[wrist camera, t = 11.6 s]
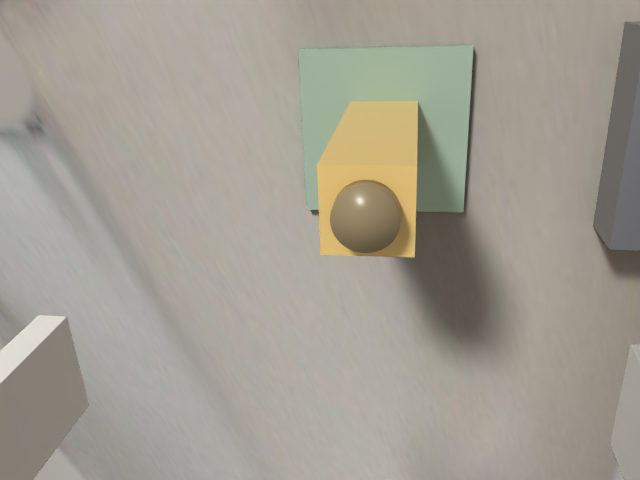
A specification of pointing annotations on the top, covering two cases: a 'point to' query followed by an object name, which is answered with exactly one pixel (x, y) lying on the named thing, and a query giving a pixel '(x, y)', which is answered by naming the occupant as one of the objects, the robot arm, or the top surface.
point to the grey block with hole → (622, 153)
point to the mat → (394, 85)
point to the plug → (370, 181)
